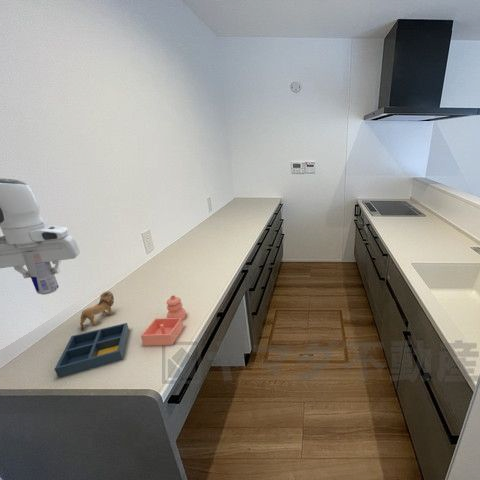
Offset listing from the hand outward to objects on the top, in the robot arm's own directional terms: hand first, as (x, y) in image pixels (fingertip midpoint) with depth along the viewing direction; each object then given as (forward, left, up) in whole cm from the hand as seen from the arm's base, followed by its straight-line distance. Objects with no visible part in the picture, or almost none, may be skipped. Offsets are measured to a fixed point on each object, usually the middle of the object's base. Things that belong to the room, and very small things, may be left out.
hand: (42, 275), depth 83 cm
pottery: (+32, -10, -25) cm, 42 cm away
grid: (+11, -13, -25) cm, 30 cm away
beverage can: (0, 0, -6) cm, 6 cm away
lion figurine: (+8, +8, -25) cm, 27 cm away
